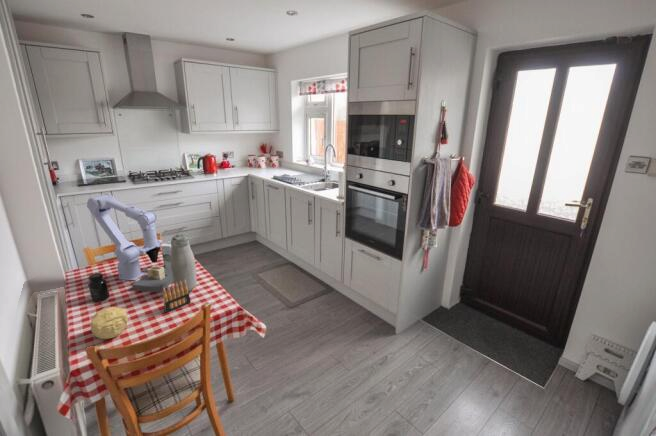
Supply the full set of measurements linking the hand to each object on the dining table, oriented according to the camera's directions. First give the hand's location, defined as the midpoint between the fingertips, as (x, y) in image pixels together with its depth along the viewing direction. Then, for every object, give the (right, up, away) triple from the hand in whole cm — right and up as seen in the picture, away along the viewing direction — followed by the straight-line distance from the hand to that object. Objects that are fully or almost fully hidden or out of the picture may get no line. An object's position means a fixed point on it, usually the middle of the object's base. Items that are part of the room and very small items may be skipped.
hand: (154, 261), depth 160 cm
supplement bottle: (-17, -15, -14) cm, 26 cm away
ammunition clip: (+21, -17, -19) cm, 33 cm away
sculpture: (+3, -23, -37) cm, 43 cm away
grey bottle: (+19, -13, -6) cm, 23 cm away
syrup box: (+2, -6, +15) cm, 16 cm away
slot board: (+2, -10, +1) cm, 10 cm away
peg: (+1, -10, +1) cm, 10 cm away
